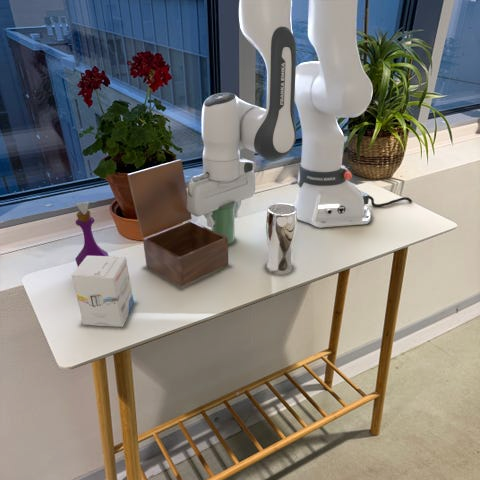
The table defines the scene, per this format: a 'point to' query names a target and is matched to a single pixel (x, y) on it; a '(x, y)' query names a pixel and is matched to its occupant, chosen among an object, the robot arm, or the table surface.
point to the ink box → (103, 290)
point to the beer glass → (280, 237)
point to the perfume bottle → (87, 234)
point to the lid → (159, 197)
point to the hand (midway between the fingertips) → (222, 221)
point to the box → (186, 252)
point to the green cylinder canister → (225, 221)
